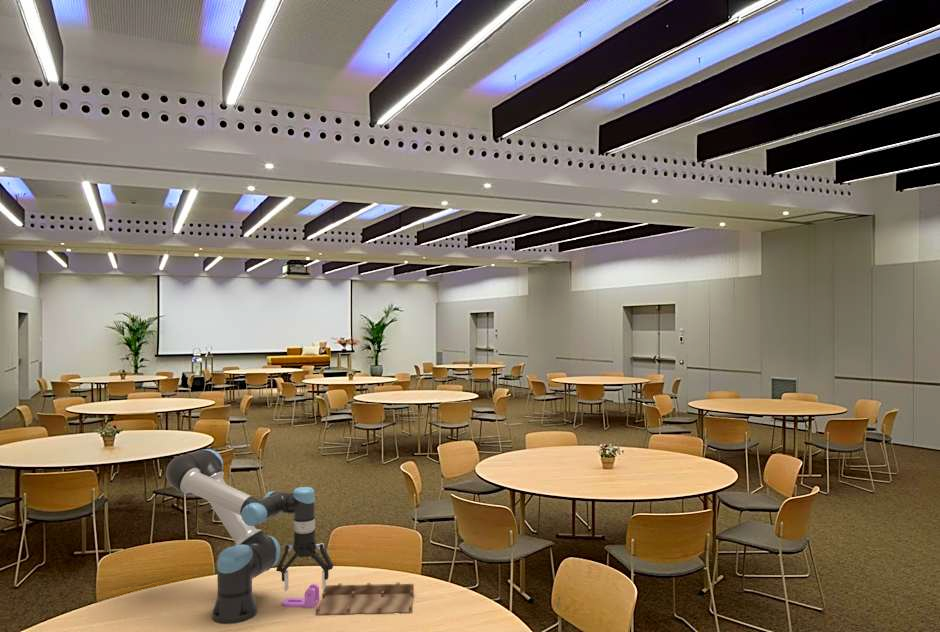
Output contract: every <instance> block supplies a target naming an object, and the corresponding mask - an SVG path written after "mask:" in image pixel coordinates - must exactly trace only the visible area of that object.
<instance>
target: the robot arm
mask: <svg viewBox="0 0 940 632" xmlns="http://www.w3.org/2000/svg"><path fill="white" fill-rule="evenodd" d="M223 469H224V460H223V457H222V456H221V455H220V453H218V452H217V451H216V450H213V449H210V448H206V449H199V450H196V451H194V452H190V453H185V454H180V455H178V456H176V457H174V458H173V459H172V460H171V461H170V462H168V465H167V466H166V469H165V470H166V471H165V476H166V480H167V482H168V484H169V485H170V486H171V487H172V488H174V489H175V490H177V491H179V492H181V493H184V494H189V493H191V494H192V495H195V496H196V497H199V498H202V499H204V500H206V501H208V502H209V504H210V506H211V507H212V509H213V511H214V512H215V514H216V515H217V517H218V519H219V520H220V521H221V523H222V524H223V526H224V527H225V529H226V531H227V533H229V535H230V536H231V538H232V540H233V541H234V543H235V545H233V546H229V547H226V548H224V549H223V550H222V551H221V552H219V554H218V557H217V563H216V566H217V567H216V569H217V570H216V571H217V573H216V574H217V575H216V577H217V596H216V599H215V602H214V606H213V610H212V613H211V614H212V615H211V617H212V621H213V622H215V623H218V624H224V625H231V624H239V623H242V622H243V623H244V622H245V621H248V620H250V619H253V618H254V617H255V616H256V615H257V614H258V604H257V602H256V598H255V596H254V593H253V580H254V579H255V578H256V577H258V576H260V575H261V574H263V573H264V572H265V573H266V572H267V571H269V570H270V569H272V568H273V567H274V566H275V565H276V564H278V565H277V567H276V570H275V571H277V572H280V574H281V582H284V592H288V590H289V570H288V568H289V567H290V566H291V565H292V563H293V562H294V561H295V560H296V559H297V558H298V557H299V558H309V557H311V558H312V559H313V560H314V561H315V562H316V564H318V566H319V567H321V569H322V573H321V579H322V581H321V582H322V584H321V585H322V588H321V589H322V591H324V590H325V588H326V585H327V580H328V579H329V576H330V575H329V571H330V570H332V569H333V568H334V564H333V562H332V559H331V557H330V556H329V554H328V552H327V550H326V548H325V543H324V542H321V543H316V530H315V529H316V518H315V509H316V507H315V501H316V498H315V490H314V488H313V487H311V486H300V487H296V488H294V490H293V492H287V491H279V490H274V491H272V490H271V491H268V492H267V493H266V495H264V497H263V498H262V499H260V498H257V497H255V496H252V495H250V494H248V493H246V492H243V491H241V490H239V489H237V488H234V487H232V486H231V485H228V484H227V482H226V481H225V479H224V476H225V475H224V474H225V472H224V471H223ZM281 514H289V515H293V530H294V532H293V539H294V540H293V544H290V543H286V545H285V548H284V552H283V554H282V557H281V556H280V555H281V546H280V543H279V542H278V539H276V538H275V536H271V535H266V534H265V532H264V531H263V529H258V528H256V526H257V525H261V524H263V523H264V522H266V521H268V520H271V519H273V518H275V517H276V516H278V515H281ZM292 549H293V551H294V552H295V553H294V554H293V556H291V558H290V559H289V560H288V562H286V564H285V565H284V566H283V564H284V563H285V561H286V558H287V556H288V554H289V552H290V551H292ZM317 549H318V550H319V551H320V554H321V556H322V557H323V559H324V560H323V559H322V558H321V556H320V555H319V554H318V552H317V551H316V550H317ZM280 557H281V559H280ZM279 559H280V560H279ZM278 562H279V563H278Z"/></svg>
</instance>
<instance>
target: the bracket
mask: <svg viewBox="0 0 940 632" xmlns="http://www.w3.org/2000/svg"><path fill="white" fill-rule="evenodd" d="M319 586H320V585H318V584H317V583H311V584H310V585H309V587H307V589H306V590H305V592H304V597H287V598H284V599H283V600H282V601H281V605H282V607H285V608H316V607H317V605H318V604H319V602H320V587H319Z"/></svg>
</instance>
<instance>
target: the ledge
mask: <svg viewBox="0 0 940 632" xmlns="http://www.w3.org/2000/svg"><path fill="white" fill-rule="evenodd" d="M414 584H415V583H401V582H400V581H399V582H396V583H384V584H383V583H379V584H371V582H367V583H366V584H342V583H341V582H340V583H337V584H331V585H329V584H328V585H327V584H326V588H325V590H323V591H322V593H321V595H322V596H321V597H322V598H321V600H320V601H319V602H320V603H319V604H318V606H315V617H316V616H317V617H318V616H352V615H353V616H355V615H356V614H365V615H395V614H394V613H399V614H400V615H401V614H403V613H404V614H412V613H413V604H414V595H415V594H414V589H415V587H414ZM354 614H355V615H354ZM356 616H357V615H356Z"/></svg>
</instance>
